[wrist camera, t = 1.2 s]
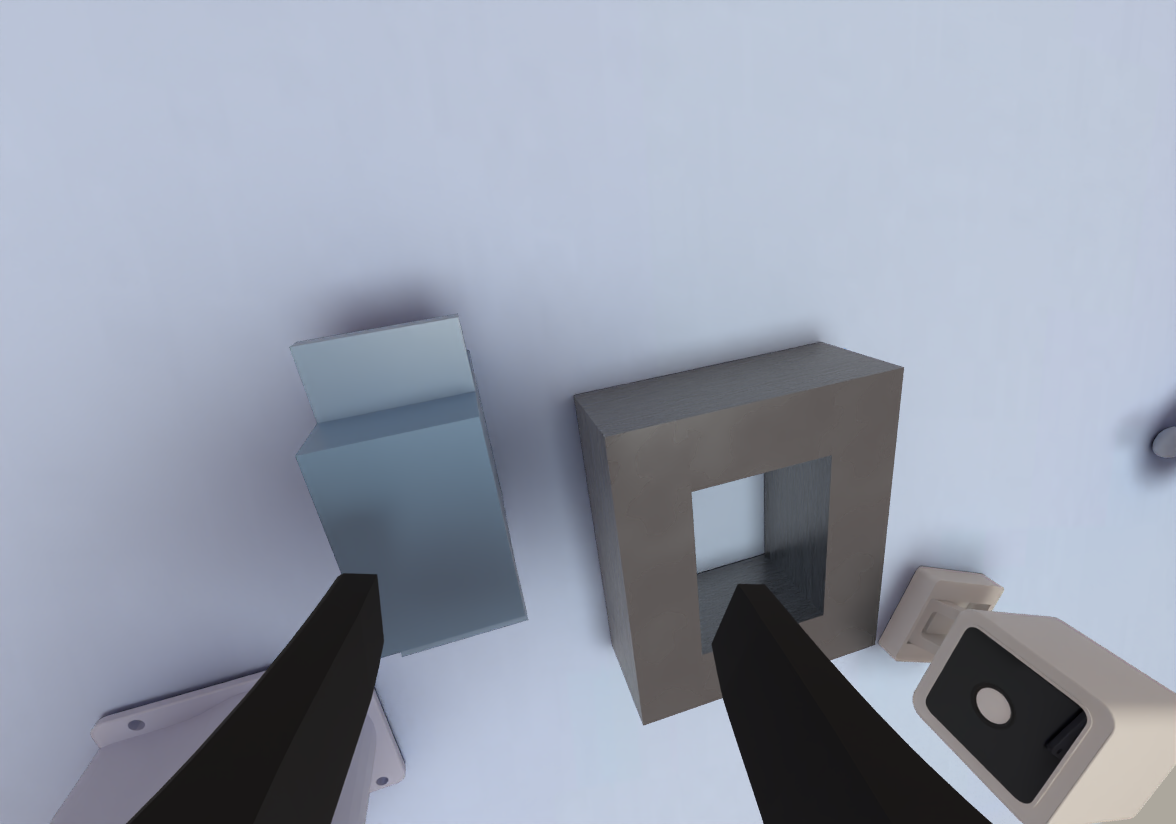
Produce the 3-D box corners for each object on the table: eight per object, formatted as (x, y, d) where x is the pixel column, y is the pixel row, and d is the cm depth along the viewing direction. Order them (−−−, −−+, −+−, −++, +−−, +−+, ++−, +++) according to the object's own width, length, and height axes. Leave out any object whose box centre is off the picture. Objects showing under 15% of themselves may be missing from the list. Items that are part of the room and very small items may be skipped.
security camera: (901, 556, 28) (1124, 718, 18) (988, 567, 30) (1224, 716, 21) (853, 649, 29) (1036, 840, 20) (938, 653, 31) (1137, 826, 22)
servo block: (412, 560, 20) (396, 713, 14) (333, 314, 17) (260, 369, 10) (511, 535, 21) (537, 668, 15) (455, 293, 17) (459, 332, 11)
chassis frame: (612, 645, 24) (643, 725, 20) (573, 395, 20) (604, 437, 16) (811, 583, 26) (875, 644, 23) (821, 342, 22) (903, 367, 18)
